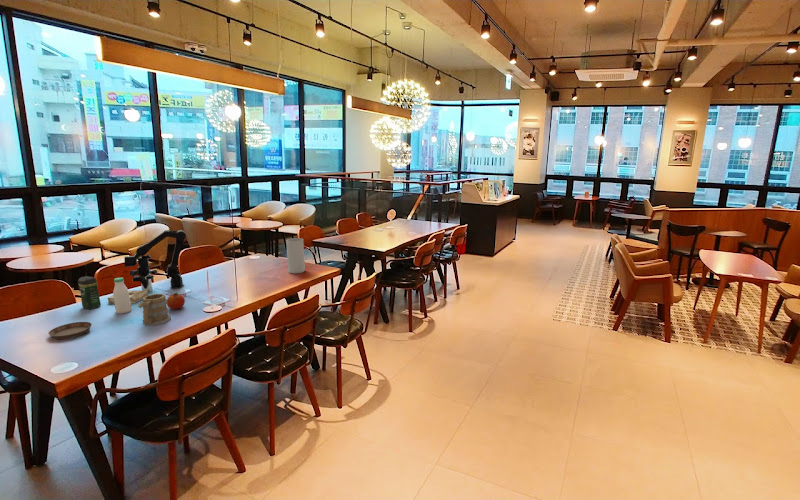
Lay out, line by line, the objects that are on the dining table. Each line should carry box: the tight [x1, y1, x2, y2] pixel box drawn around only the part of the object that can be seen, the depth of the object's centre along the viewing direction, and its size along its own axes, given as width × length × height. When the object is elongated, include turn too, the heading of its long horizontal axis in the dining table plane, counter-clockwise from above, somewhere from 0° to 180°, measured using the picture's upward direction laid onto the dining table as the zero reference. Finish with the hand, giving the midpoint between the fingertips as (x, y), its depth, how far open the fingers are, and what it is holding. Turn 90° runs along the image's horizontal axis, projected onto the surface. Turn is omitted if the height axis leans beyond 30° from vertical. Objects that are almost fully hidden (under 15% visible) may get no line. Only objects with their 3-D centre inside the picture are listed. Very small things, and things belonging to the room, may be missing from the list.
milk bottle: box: [112, 277, 132, 315], centre depth 246 cm, size 8×8×20 cm
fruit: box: [166, 292, 186, 310], centre depth 252 cm, size 10×10×10 cm
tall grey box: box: [140, 279, 153, 292], centre depth 284 cm, size 5×3×8 cm, turn 90°
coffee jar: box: [77, 275, 101, 310], centre depth 254 cm, size 10×8×19 cm
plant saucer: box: [48, 321, 93, 340], centre depth 218 cm, size 18×18×3 cm
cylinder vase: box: [285, 237, 306, 274], centre depth 327 cm, size 12×12×25 cm
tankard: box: [138, 293, 172, 326], centre depth 229 cm, size 20×13×15 cm, turn 178°
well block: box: [107, 289, 149, 304], centre depth 268 cm, size 16×14×4 cm
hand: (147, 287), depth 285 cm, fingers closed on tall grey box, 3 cm apart
